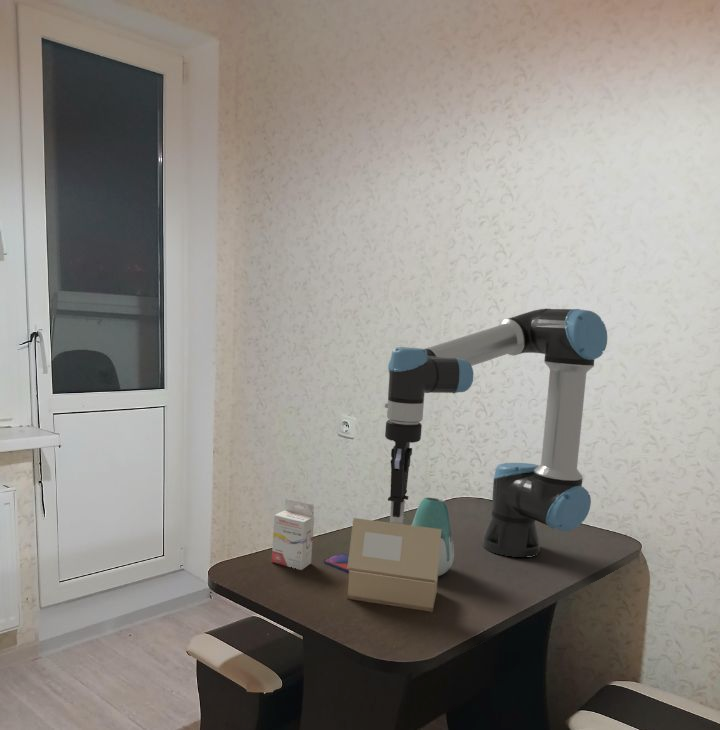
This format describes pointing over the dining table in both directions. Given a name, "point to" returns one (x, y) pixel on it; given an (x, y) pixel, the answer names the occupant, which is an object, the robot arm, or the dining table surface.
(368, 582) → the box
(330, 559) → the smartphone
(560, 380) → the robot arm
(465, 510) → the dining table surface
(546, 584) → the dining table surface
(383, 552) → the lid
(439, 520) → the vase
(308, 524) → the ink cartridge box
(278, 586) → the dining table surface
